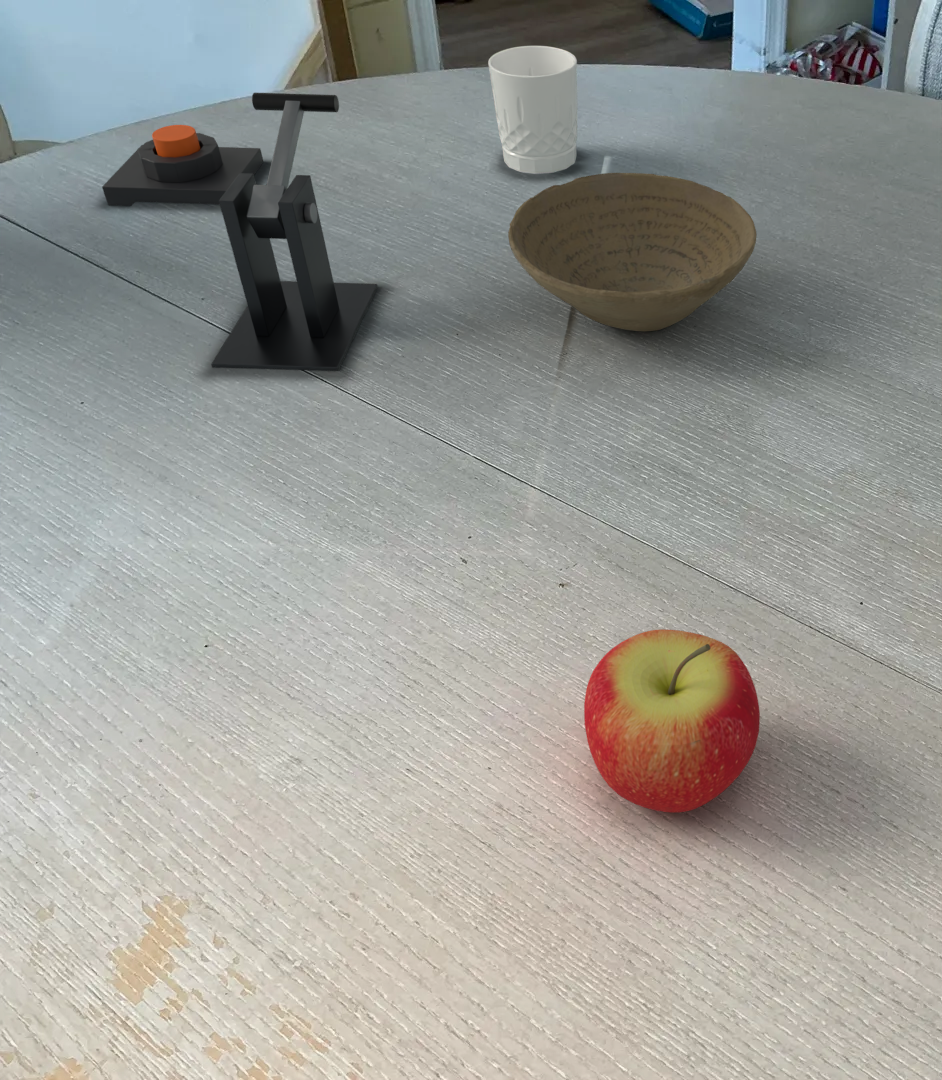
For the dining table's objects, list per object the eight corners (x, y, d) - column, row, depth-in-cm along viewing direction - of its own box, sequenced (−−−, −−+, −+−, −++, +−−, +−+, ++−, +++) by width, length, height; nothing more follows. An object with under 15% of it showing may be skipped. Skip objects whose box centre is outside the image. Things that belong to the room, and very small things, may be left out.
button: (151, 159, 103) (145, 140, 102) (166, 143, 106) (160, 123, 105) (192, 160, 103) (186, 141, 102) (206, 144, 106) (201, 125, 105)
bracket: (266, 293, 93) (229, 149, 86) (379, 297, 93) (352, 153, 86) (215, 377, 84) (167, 225, 77) (340, 381, 84) (305, 229, 77)
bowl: (785, 364, 87) (792, 267, 82) (539, 399, 83) (529, 299, 78) (715, 249, 101) (718, 159, 95) (500, 274, 96) (490, 182, 91)
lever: (262, 107, 88) (250, 82, 85) (342, 109, 88) (333, 85, 85) (231, 237, 83) (218, 215, 81) (316, 240, 83) (305, 218, 81)
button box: (109, 210, 104) (94, 166, 101) (148, 167, 110) (135, 125, 108) (234, 214, 104) (222, 170, 101) (266, 170, 110) (255, 128, 108)
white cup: (486, 179, 110) (474, 70, 103) (517, 146, 116) (507, 41, 109) (566, 189, 109) (559, 80, 102) (593, 155, 114) (588, 50, 108)
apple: (731, 865, 55) (738, 728, 49) (562, 822, 57) (546, 683, 50) (773, 733, 61) (784, 595, 54) (619, 697, 63) (611, 559, 56)
